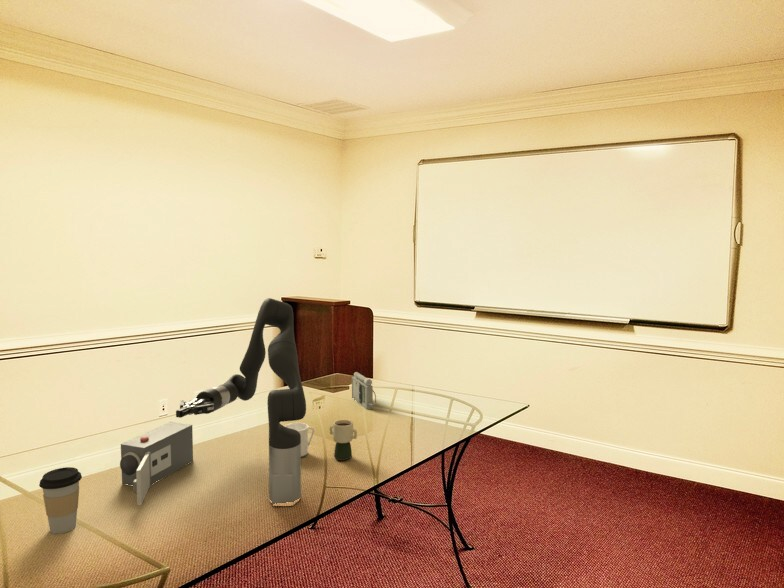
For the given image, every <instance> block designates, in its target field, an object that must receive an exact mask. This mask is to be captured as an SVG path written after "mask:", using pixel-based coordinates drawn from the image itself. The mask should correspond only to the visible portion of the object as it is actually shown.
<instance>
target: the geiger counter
mask: <svg viewBox="0 0 784 588" xmlns="http://www.w3.org/2000/svg"><path fill="white" fill-rule="evenodd" d="M372 384H373V381H372V380H371V379H370V378H369V377H366V376H364V375H362V374H361V373H359V372H358V371H355V372H354V373H353V376H351V399H352V398H354V399H355V400H356V401H357V402H358V404H359V405H360V406H361V407H363V409H365V410H372V409H373V406H375V405H376V403H377V395H376V392H375V390H374V389H373V385H372ZM373 394H374V400H373ZM355 400H354V401H355ZM356 401H355V402H356ZM373 401H374V403H373ZM357 402H356V403H357Z"/></svg>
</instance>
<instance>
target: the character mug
mask: <svg viewBox="0 0 784 588" xmlns="http://www.w3.org/2000/svg"><path fill="white" fill-rule="evenodd" d="M329 435H332V439H333V442H334V443H335V445H334V446H335V447H334V452H333V453H334V455H333V457H334V459H336V460H339V461H344V460H349V459H350V458H352V457H353V455H352V454H353V452H352V445H351V442H352V441H353V439H354V440H357V438H358V431H357V429H354V422H353V421H352V420H349V419H338V420H337V419H336V420H335V421H333V425H330V426H329Z"/></svg>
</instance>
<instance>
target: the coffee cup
mask: <svg viewBox="0 0 784 588" xmlns="http://www.w3.org/2000/svg"><path fill="white" fill-rule="evenodd" d="M82 479H83V476H82V472H81V471H79V469H78V468H76V467H70V466H69V467H67V466H66V467H60V468H55V469H52V470H50V471H47V472H46V473H44V474H43V476H42V478H41V479H40V481H39V484H38V486H39V488H41V489H42V493H43V494H42V496H43V503H44V507H45V514H46V516H47V522H48V527H49V532H50V533H51V534H53V535H60V534H65V533H68V532H70V531H73V530H74V529H75V528H76V526H77V516H78V515H77V514H78V508H79V500H80V499H79V497H80V496H79V495H80V481H81V480H82Z"/></svg>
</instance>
